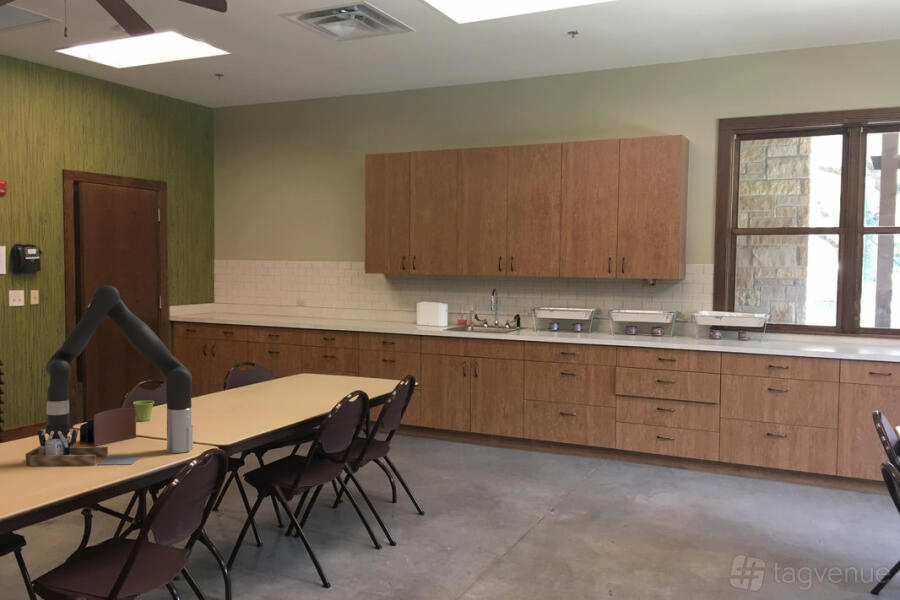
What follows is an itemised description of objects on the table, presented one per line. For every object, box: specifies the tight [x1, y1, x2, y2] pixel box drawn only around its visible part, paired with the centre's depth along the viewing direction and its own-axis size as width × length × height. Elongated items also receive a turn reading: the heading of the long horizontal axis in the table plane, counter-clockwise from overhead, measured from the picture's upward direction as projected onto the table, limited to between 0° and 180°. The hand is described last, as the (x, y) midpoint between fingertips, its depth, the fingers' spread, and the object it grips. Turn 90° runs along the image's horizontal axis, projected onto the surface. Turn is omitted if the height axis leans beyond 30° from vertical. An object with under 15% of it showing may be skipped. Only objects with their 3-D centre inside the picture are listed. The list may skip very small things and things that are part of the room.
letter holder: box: [79, 407, 137, 447], centre depth 310 cm, size 10×20×14 cm, turn 150°
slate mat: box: [97, 454, 144, 466], centre depth 279 cm, size 12×14×1 cm
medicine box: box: [46, 436, 71, 455], centre depth 277 cm, size 8×4×9 cm, turn 168°
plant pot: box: [132, 400, 155, 422], centre depth 352 cm, size 9×9×9 cm
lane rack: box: [25, 445, 109, 467], centre depth 277 cm, size 24×14×4 cm, turn 97°
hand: (58, 456), depth 277 cm, fingers closed on medicine box, 5 cm apart
